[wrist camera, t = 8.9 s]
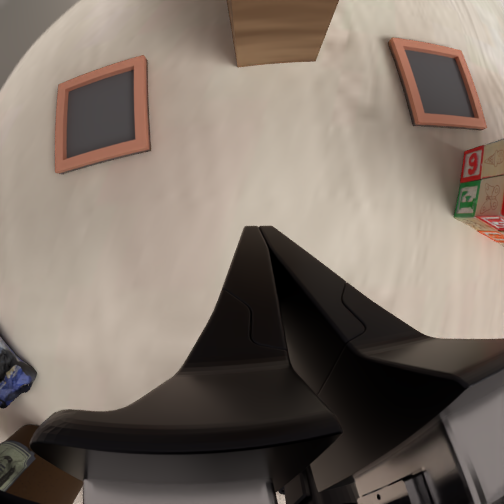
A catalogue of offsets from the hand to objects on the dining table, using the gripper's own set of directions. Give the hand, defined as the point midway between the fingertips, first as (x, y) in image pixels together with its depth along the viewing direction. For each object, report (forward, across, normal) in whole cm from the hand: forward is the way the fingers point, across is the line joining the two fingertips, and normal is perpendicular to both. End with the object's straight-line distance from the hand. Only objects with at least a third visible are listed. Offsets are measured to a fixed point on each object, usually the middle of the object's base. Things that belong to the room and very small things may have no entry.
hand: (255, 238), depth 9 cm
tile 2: (+14, -18, -6) cm, 24 cm away
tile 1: (+17, +9, 0) cm, 19 cm away
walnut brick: (+20, -3, -10) cm, 23 cm away
